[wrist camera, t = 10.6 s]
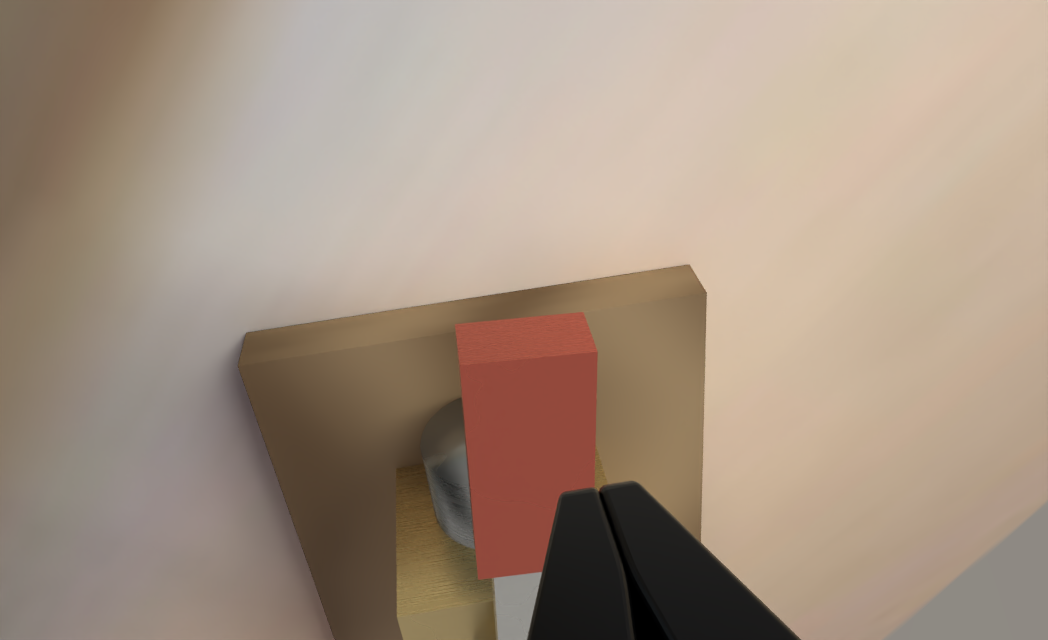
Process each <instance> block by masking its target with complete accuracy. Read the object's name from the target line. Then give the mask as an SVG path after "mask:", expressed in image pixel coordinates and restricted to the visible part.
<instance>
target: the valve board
mask: <svg viewBox="0 0 1048 640" xmlns="http://www.w3.org/2000/svg"><path fill="white" fill-rule="evenodd" d="M706 299H707V292H706V291H705V289H704V288H703V286H702V284H701V283H700V281H699V279H698V278H697V276H696V274H695V273H694V271H693V270H692V268H691V266H690V265H684V266H678V267H671V268H665V269H658V270H652V271H645V272H639V273H632V274H626V275H619V276H613V277H606V278H600V279H593V280H587V281H580V282H574V283H567V284H561V285H554V286H548V287H541V288H535V289H528V290H522V291H515V292H509V293H502V294H496V295H489V296H483V297H476V298H470V299H463V300H457V301H450V302H444V303H437V304H431V305H424V306H418V307H411V308H405V309H398V310H391V311H385V312H378V313H372V314H365V315H359V316H352V317H346V318H339V319H333V320H326V321H320V322H313V323H307V324H300V325H294V326H287V327H281V328H274V329H268V330H261V331H255V332H248V333H246V336H245V340H244V343H243V347H242V351H241V355H240V359H239V363H238V368H239V371H240V374H241V377H242V380H243V382H244V385H245V388H246V391H247V394H248V396H249V399H250V402H251V405H252V408H253V411H254V413H255V416H256V419H257V422H258V425H259V427H260V430H261V433H262V436H263V439H264V442H265V444H266V447H267V450H268V453H269V456H270V458H271V461H272V464H273V467H274V470H275V472H276V475H277V478H278V481H279V484H280V487H281V489H282V492H283V495H284V498H285V501H286V503H287V506H288V509H289V512H290V515H291V518H292V520H293V523H294V526H295V529H296V532H297V534H298V537H299V540H300V543H301V546H302V549H303V551H304V554H305V557H306V560H307V563H308V565H309V568H310V571H311V574H312V577H313V580H314V582H315V585H316V588H317V591H318V594H319V596H320V599H321V602H322V605H323V608H324V611H325V613H326V616H327V619H328V622H329V625H330V627H331V630H332V633H333V636H334V639H335V640H403V637H402V634H401V630H400V627H399V623H398V619H397V560H396V468H402V467H408V466H414V465H420V464H424V463H423V458H422V454H421V447H420V443H421V437H422V433H423V431H424V428H425V427H426V425H427V423H428V422H429V421H430V419H431V418H432V417H433V416H434V415H435V414H436V413H437V412H438V411H439V410H441V409H442V408H443V407H445V406H446V405H448V404H449V403H451V402H453V401H455V400H457V399H459V398H461V388H460V376H459V365H458V353H457V342H456V331H455V324H462V323H472V322H483V321H493V320H504V319H514V318H525V317H535V316H546V315H556V314H566V313H577V312H584V315H585V318H586V320H587V323H588V326H589V329H590V332H591V334H592V337H593V340H594V343H595V346H596V348H597V351H598V361H597V404H596V447H597V450H598V453H599V457H600V460H601V463H602V466H603V470H604V473H605V476H606V479H607V483H608V484H613V483H619V482H625V481H636V482H638V483H640V484H641V485H642V486H643V487H644V488H645V489H646V490H647V491H648V492H649V493H650V494H651V495H652V496H653V497H654V498H655V499H656V500H657V501H658V502H659V503H660V504H661V505H662V506H663V507H665V508H666V509H667V510H668V511H669V512H670V513H671V514H672V515H673V516H674V517H675V518H676V519H677V520H678V521H679V522H680V523H681V524H682V525H683V526H684V527H685V528H686V529H687V530H688V531H689V532H690V533H691V534H692V535H693V536H694V537H696V538H697V539H698V540H699V541H700V542H701V507H702V466H703V424H704V382H705V341H706Z"/></svg>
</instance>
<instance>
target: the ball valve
mask: <svg viewBox="0 0 1048 640" xmlns="http://www.w3.org/2000/svg"><path fill="white" fill-rule="evenodd" d="M420 447H421V454H422V458H423V463H424V464H420V465H414V466H408V467H402V468H396V560H397V619H398V623H399V627H400V630H401V634H402V637H403V640H496V631H495V617H494V604H493V590H492V578H489V579H481V580H478V573H477V564H476V555H475V546H474V536H473V526H472V514H471V503H470V491H469V480H468V468H467V457H466V445H465V434H464V422H463V411H462V399H461V398H459V399H457V400H455V401H453V402H451V403H449V404H448V405H446V406H445V407H443V408H442V409H441V410H439V411H438V412H437V413H436V414H435V415H434V416H433V417H432V418H431V419H430V421H429V422H428V423H427V425H426V427H425V428H424V431H423V433H422V437H421V443H420ZM607 484H608V483H607V479H606V476H605V473H604V470H603V466H602V463H601V460H600V457H599V453H598V450H597V447H595V488H596V489H597V490H598V491H599V490H600V488H601V487H602V486H603V485H607Z"/></svg>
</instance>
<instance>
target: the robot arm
mask: <svg viewBox="0 0 1048 640" xmlns="http://www.w3.org/2000/svg"><path fill="white" fill-rule="evenodd" d="M527 640H801V639H800V638H799V637H798V636H797V635H796V634H795V633H794V632H793V631H792V630H791V629H790V628H788V627H787V626H786V625H785V624H784V623H783V622H782V621H781V620H780V619H779V618H778V617H777V616H776V615H775V614H774V613H773V612H772V611H771V610H770V609H769V608H768V607H767V606H766V605H765V604H764V603H763V602H762V601H761V600H760V599H759V598H757V597H756V596H755V595H754V594H753V593H752V592H751V591H750V590H749V589H748V588H747V587H746V586H745V585H744V584H743V583H742V582H741V581H740V580H739V579H738V578H737V577H736V576H735V575H734V574H733V573H732V572H731V571H730V570H729V569H728V568H727V567H725V566H724V565H723V564H722V563H721V562H720V561H719V560H718V559H717V558H716V557H715V556H714V555H713V554H712V553H711V552H710V551H709V550H708V549H707V548H706V547H705V546H704V545H703V544H702V543H701V542H700V541H699V540H698V539H697V538H696V537H694V536H693V535H692V534H691V533H690V532H689V531H688V530H687V529H686V528H685V527H684V526H683V525H682V524H681V523H680V522H679V521H678V520H677V519H676V518H675V517H674V516H673V515H672V514H671V513H670V512H669V511H668V510H667V509H666V508H665V507H663V506H662V505H661V504H660V503H659V502H658V501H657V500H656V499H655V498H654V497H653V496H652V495H651V494H650V493H649V492H648V491H647V490H646V489H645V488H644V487H643V486H642V485H641V484H640V483H638V482H636V481H625V482H619V483H613V484H607V485H603V486H602V487H601V488H600V490H599V491H598V490H597V489H596V488H594V487H589V488H583V489H577V490H571V491H565V492H563V493H562V494H561V495H560V496H559V499H558V503H557V508H556V512H555V516H554V521H553V525H552V530H551V534H550V539H549V543H548V548H547V552H546V557H545V561H544V566H543V570H542V574H541V579H540V583H539V588H538V592H537V597H536V601H535V606H534V610H533V615H532V619H531V623H530V628H529V632H528V637H527Z"/></svg>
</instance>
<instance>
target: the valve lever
mask: <svg viewBox="0 0 1048 640" xmlns="http://www.w3.org/2000/svg"><path fill="white" fill-rule="evenodd" d="M455 331H456V342H457V353H458V365H459V376H460V388H461V399H462V411H463V422H464V434H465V445H466V457H467V468H468V480H469V491H470V503H471V514H472V526H473V536H474V546H475V555H476V564H477V573H478V580H481V579H489V578H492V590H493V604H494V617H495V631H496V640H527V637H528V632H529V628H530V623H531V619H532V615H533V610H534V606H535V601H536V597H537V592H538V588H539V583H540V579H541V574H542V570H543V566H544V561H545V557H546V552H547V548H548V543H549V539H550V534H551V530H552V525H553V521H554V516H555V512H556V508H557V503H558V499H559V496H560V495H561V494H562V493H563V492H565V491H571V490H577V489H583V488H589V487H594V488H595V447H596V404H597V361H598V351H597V348H596V346H595V343H594V340H593V337H592V334H591V332H590V329H589V326H588V323H587V320H586V318H585V315H584V312H577V313H566V314H556V315H546V316H535V317H525V318H514V319H504V320H493V321H483V322H472V323H462V324H455Z"/></svg>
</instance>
